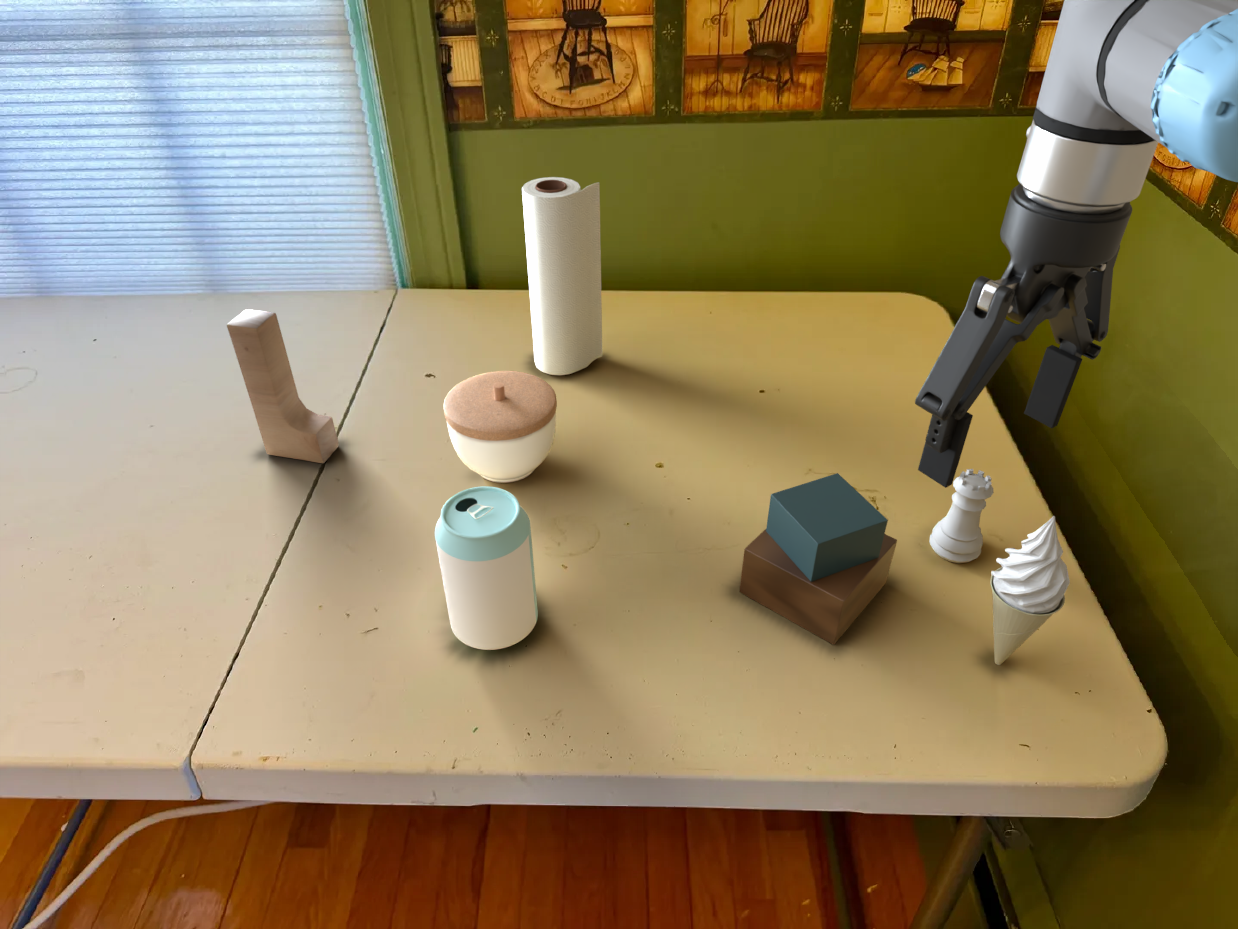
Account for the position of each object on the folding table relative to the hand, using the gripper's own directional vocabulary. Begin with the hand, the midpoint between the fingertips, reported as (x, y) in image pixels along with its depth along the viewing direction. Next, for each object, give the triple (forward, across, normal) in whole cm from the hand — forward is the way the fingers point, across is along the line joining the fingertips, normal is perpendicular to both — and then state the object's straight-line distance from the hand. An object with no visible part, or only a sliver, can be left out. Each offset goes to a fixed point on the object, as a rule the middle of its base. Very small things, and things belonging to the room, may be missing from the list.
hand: (989, 447), depth 71 cm
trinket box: (+11, +27, -34) cm, 45 cm away
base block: (+11, +14, -4) cm, 18 cm away
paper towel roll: (+12, +12, -47) cm, 50 cm away
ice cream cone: (+11, +8, +10) cm, 17 cm away
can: (+11, +38, -16) cm, 43 cm away
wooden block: (+12, +43, -48) cm, 65 cm away
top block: (+6, +14, -4) cm, 16 cm away
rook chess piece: (+11, 0, 0) cm, 11 cm away
